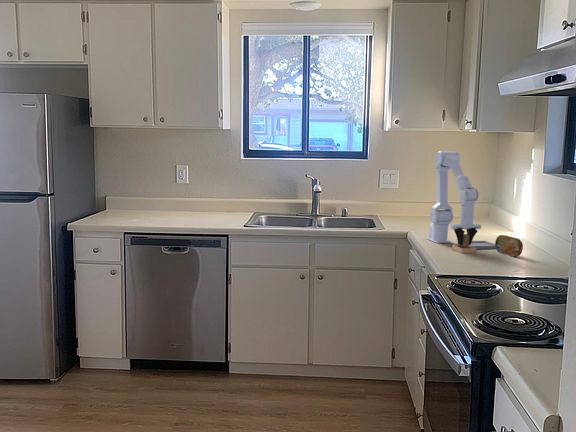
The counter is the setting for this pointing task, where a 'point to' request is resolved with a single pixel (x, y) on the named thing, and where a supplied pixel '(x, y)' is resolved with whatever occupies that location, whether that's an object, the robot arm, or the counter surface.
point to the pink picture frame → (464, 249)
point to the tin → (508, 245)
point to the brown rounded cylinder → (465, 241)
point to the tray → (482, 245)
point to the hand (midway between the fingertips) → (464, 244)
